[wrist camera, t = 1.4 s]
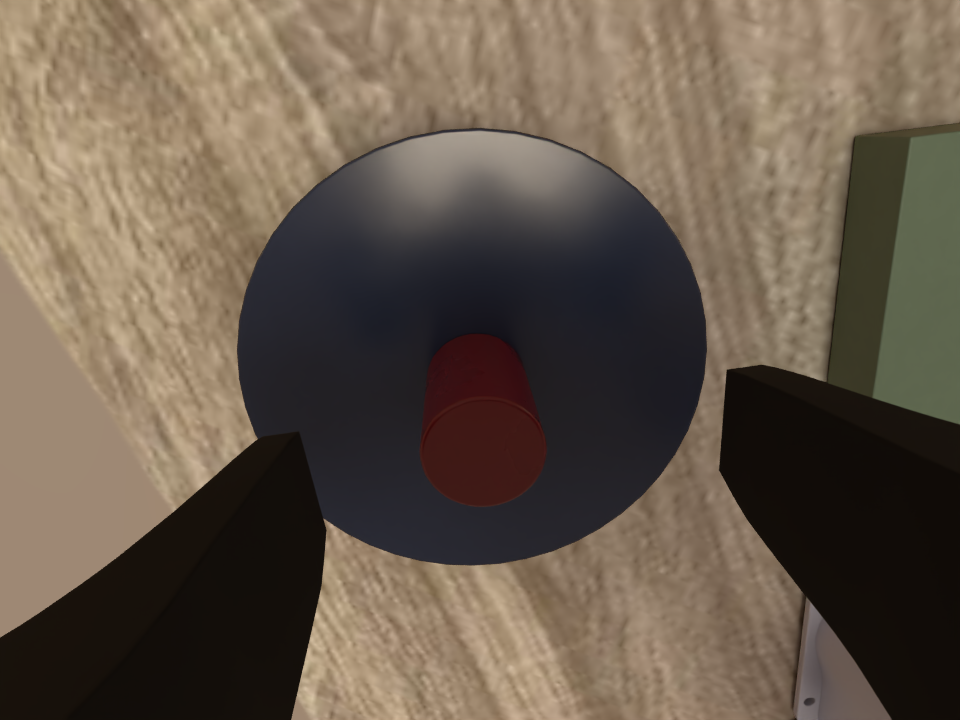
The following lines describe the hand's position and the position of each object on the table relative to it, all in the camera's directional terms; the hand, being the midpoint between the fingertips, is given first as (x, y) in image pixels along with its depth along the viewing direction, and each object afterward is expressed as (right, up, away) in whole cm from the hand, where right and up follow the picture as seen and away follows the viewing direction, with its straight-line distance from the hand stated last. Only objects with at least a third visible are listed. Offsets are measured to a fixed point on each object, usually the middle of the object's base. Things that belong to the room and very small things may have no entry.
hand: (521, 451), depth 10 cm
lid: (-1, +1, +5) cm, 5 cm away
